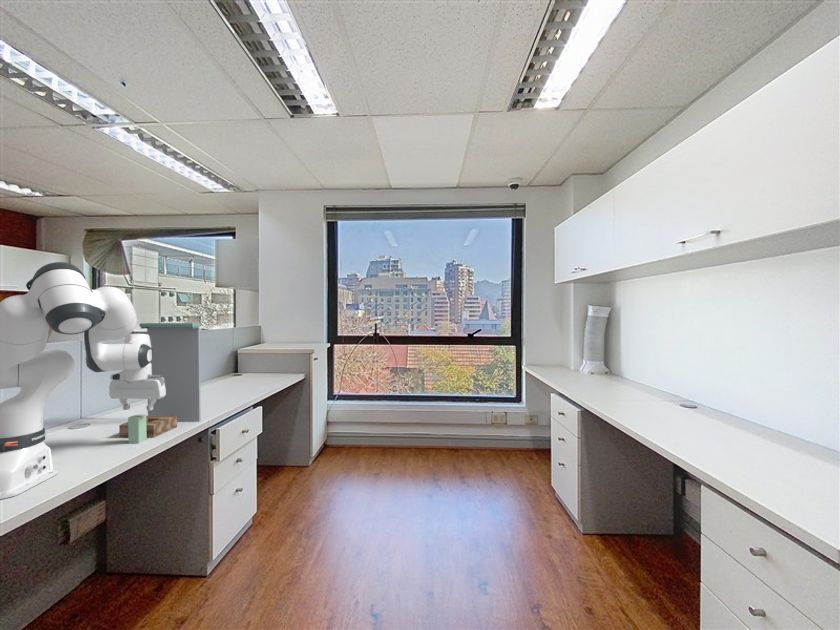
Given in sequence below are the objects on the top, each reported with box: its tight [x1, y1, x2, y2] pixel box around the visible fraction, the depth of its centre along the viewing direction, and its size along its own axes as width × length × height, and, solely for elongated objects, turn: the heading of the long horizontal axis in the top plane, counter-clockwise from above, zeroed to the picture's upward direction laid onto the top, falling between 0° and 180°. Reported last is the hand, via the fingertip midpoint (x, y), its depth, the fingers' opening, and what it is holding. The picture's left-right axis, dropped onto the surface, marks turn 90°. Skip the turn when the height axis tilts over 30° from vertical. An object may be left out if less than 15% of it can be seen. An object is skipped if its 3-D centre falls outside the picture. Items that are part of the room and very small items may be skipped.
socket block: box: [118, 415, 178, 439], centre depth 158 cm, size 14×14×5 cm
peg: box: [127, 414, 147, 444], centre depth 146 cm, size 4×4×10 cm
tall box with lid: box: [139, 322, 202, 423], centre depth 171 cm, size 6×24×46 cm, turn 89°
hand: (138, 409), depth 146 cm, fingers open, 8 cm apart
